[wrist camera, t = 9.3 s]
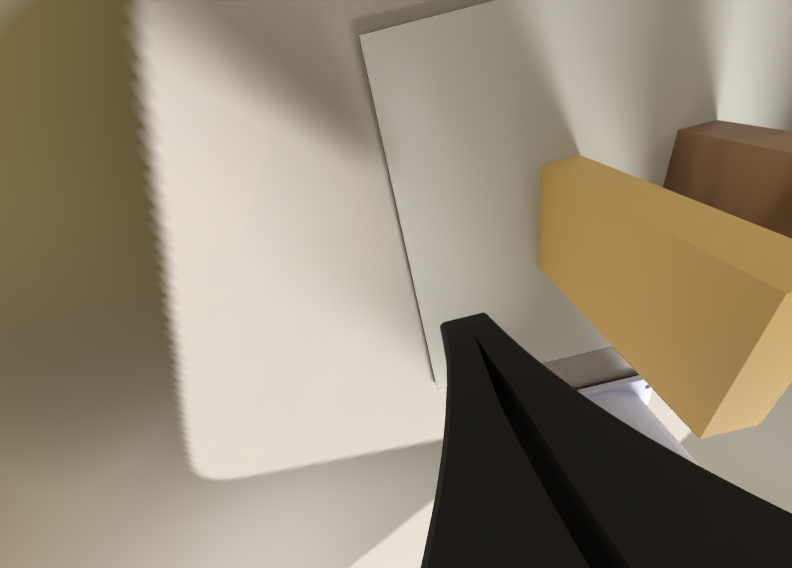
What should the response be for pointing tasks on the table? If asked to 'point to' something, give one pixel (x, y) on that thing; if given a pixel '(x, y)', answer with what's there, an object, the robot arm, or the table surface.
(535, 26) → the mat
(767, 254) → the domino
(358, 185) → the table surface
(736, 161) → the domino
